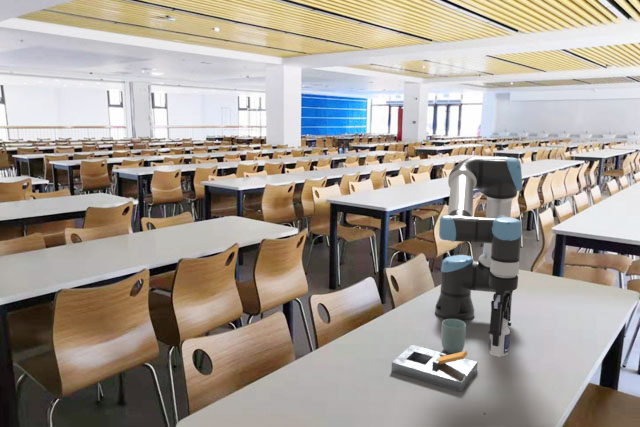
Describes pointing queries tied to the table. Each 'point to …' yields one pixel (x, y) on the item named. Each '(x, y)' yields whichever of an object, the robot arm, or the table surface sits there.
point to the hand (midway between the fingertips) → (498, 350)
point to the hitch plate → (434, 368)
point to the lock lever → (451, 357)
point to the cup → (453, 335)
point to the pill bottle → (503, 338)
